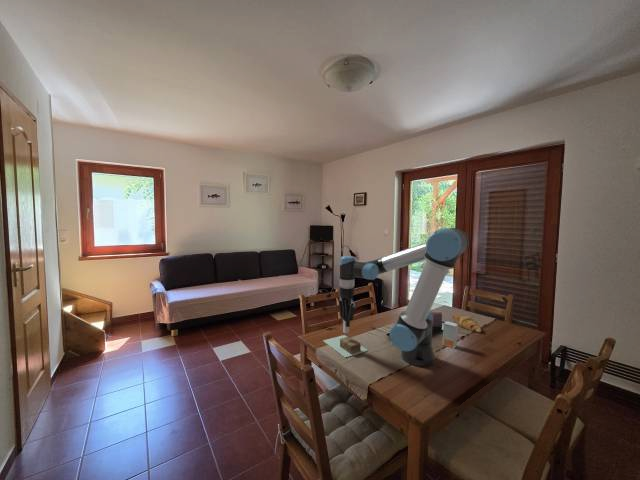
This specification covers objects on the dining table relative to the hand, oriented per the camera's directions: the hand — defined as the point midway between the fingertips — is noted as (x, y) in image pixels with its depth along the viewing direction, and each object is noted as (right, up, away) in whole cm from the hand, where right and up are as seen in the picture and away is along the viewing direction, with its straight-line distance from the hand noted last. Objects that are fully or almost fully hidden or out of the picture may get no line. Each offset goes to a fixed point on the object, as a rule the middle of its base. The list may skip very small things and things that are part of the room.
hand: (346, 332), depth 138 cm
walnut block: (-1, -5, +1) cm, 5 cm away
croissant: (+77, -7, +28) cm, 82 cm away
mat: (-1, -8, +2) cm, 8 cm away
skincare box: (+54, -8, +3) cm, 55 cm away
